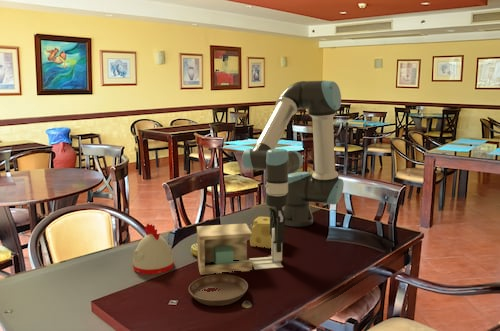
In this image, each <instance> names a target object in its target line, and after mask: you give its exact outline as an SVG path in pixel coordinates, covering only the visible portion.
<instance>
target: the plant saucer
mask: <svg viewBox="0 0 500 331" xmlns="http://www.w3.org/2000/svg"><path fill="white" fill-rule="evenodd" d="M208 288H215V289H216V288H218V289H217V290H216V291H213V292H212V291H210V292H207V291H204V289H206V290H207V289H208ZM248 288H249V284H248V282H247V281H246V280H245V279H244V278H241V277H240V276H236V275H232V274H223V273H220V274H209V275H206V276H202V277H200V278H198V279H196V280H194V281H192V282H191V283H190V284H189V286H188V292H189V294H190V295H191V296H192V298H194V300H195V301H197V302H199V303H200V304H202V305H207V306H214V307H215V306H216V307H218V306H228V305H231V304H234V303H235V302H237V301H238V300H239V301H240V299H241V298H242V297H243V296H244V295H245V294H246V292H247V291H248ZM219 289H220V290H219ZM199 290H200V291H199ZM202 290H203V291H202ZM218 290H219V291H218Z"/></svg>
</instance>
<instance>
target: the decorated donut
mask: <svg viewBox="0 0 500 331" xmlns="http://www.w3.org/2000/svg"><path fill="white" fill-rule="evenodd" d="M190 252H191V253H192V255H193V256H195V257H196V258H198V253H197V242H196V243H193V244H192V245H191V247H190Z"/></svg>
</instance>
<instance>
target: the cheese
mask: <svg viewBox="0 0 500 331" xmlns="http://www.w3.org/2000/svg"><path fill="white" fill-rule="evenodd" d="M250 231H251V232H252V237H249V245H250V247H256V246H257V248H264V247H265V248H264V249H270V248H271V239H272V238H271V235H270V216H262V215H259V216H258V217H256V218H255V219H254V220H253V225H252V226H251V228H250Z"/></svg>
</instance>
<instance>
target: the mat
mask: <svg viewBox="0 0 500 331" xmlns="http://www.w3.org/2000/svg"><path fill="white" fill-rule="evenodd" d="M267 258H272V256H264V257H252V258H248V260H254V259H267ZM252 268H253V269H254V270H265V269H266V270H267V269H276V268H284V266H283V264H282V262H280V263H273V262H272V260H271V261H258V262H252Z"/></svg>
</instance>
